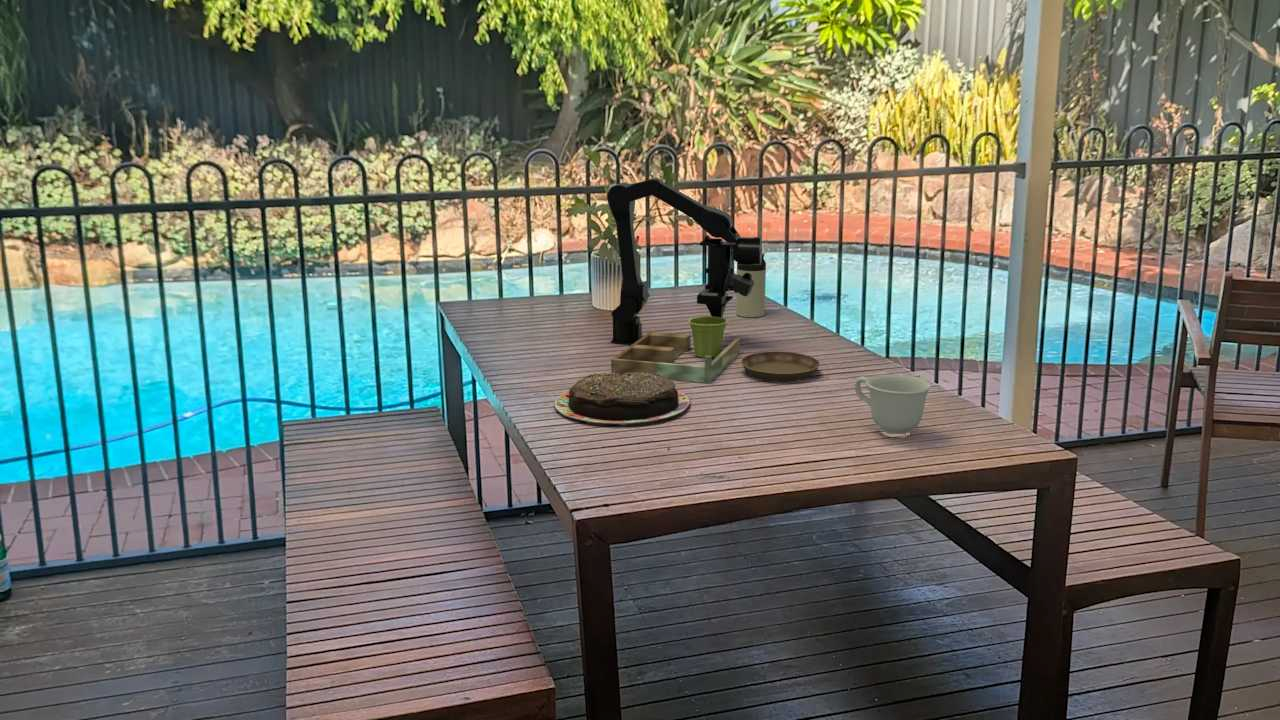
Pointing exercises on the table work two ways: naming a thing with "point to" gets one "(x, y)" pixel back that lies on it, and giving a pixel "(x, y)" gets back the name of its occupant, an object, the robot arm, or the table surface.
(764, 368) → the plant saucer
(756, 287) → the travel mug
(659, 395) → the chocolate cake
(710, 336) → the plant pot
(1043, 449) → the table surface
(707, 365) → the compartment box
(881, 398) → the teacup
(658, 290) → the table surface
